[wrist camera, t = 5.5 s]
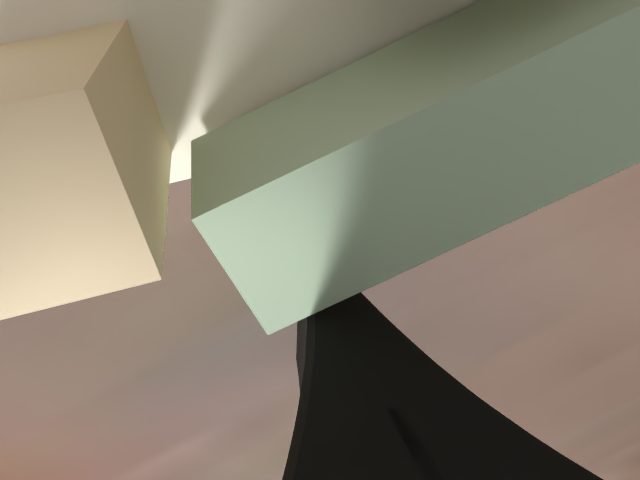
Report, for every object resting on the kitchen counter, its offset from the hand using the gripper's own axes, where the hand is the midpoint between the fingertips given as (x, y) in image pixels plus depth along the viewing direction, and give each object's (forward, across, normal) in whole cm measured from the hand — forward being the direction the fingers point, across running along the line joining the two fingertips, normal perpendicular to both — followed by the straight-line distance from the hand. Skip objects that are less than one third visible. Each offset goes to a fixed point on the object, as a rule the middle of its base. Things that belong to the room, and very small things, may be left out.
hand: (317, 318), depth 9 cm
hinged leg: (+1, -3, -4) cm, 5 cm away
